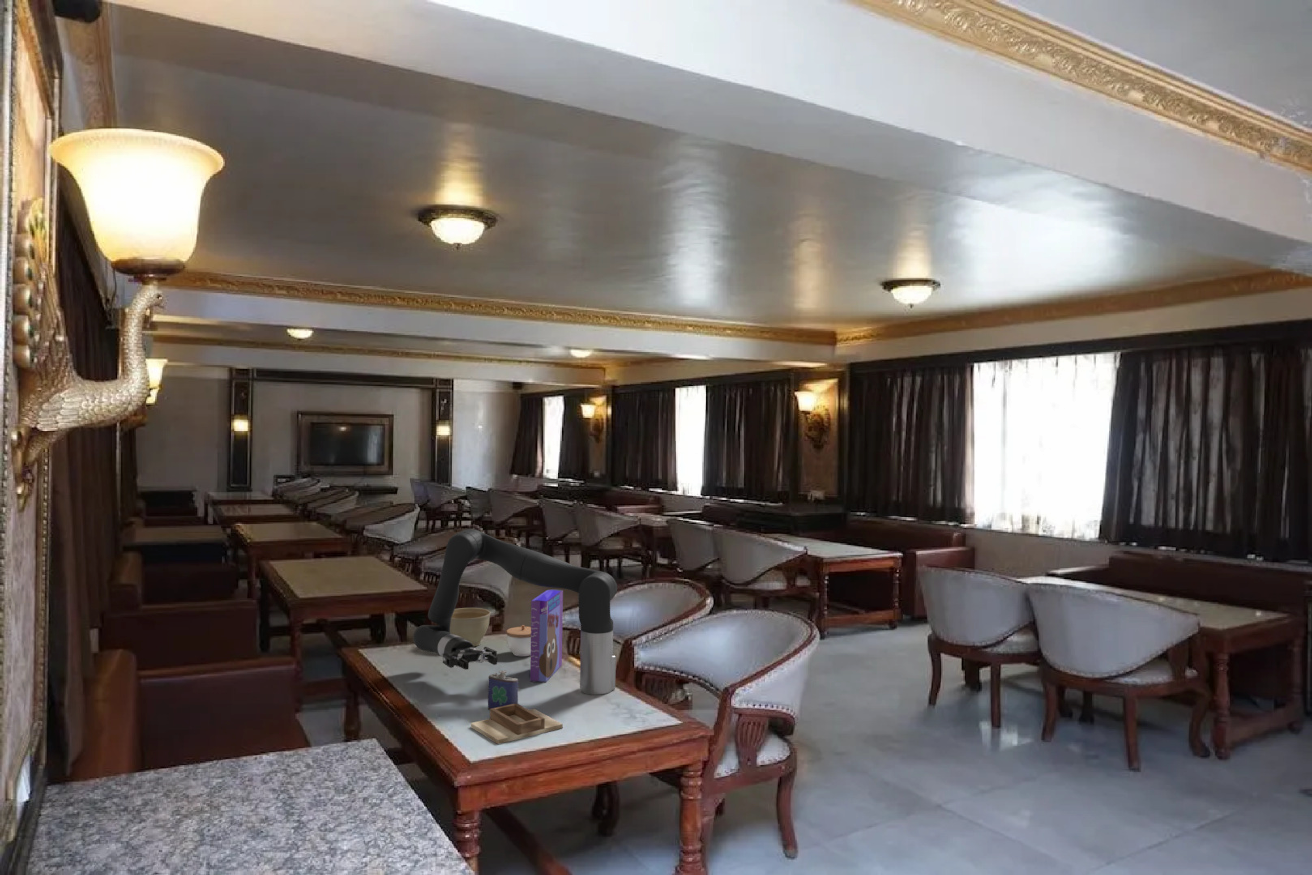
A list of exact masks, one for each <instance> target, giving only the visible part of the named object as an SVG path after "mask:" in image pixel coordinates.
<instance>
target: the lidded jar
mask: <svg viewBox="0 0 1312 875" xmlns="http://www.w3.org/2000/svg"><path fill="white" fill-rule="evenodd" d="M506 644H507V647H508V649H509V651H510V652H511V653H513V655H514V656H515V657H530V656H531V626H525V624H522V625H521V626H515V627H511V628H508V629H507V630H506Z"/></svg>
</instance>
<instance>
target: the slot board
mask: <svg viewBox="0 0 1312 875" xmlns="http://www.w3.org/2000/svg"><path fill="white" fill-rule="evenodd" d="M470 728H471V729H473V730H475V731H477V732H478V733H479V734H481V735H483V736H484V737H486V738H487V739H489V740H491V741H493V742H494V743H496V744H497V745H500V744H503V743H509V742H512V741H517V740H520V739H524V738H528V737H532V736H536V735H541V734H544V733H545V734H546V733H548V732H553V731H557V730H560V729H563V723H562V722H560V721H557V720H556V719H554V718H552V717H550V716H548V715H546V714H545V713H543V712H541V711H539V710H537V709H535V708H531V709H528V708H526V707H524V706H522V705H520V704H519V703H518V704H517V703H515V704H510V705H506V706H501V707H497V708H492V709H490V710H489V718H487V719H484V720H479V721H478V720H477V721H474V722H470Z"/></svg>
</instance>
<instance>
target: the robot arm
mask: <svg viewBox="0 0 1312 875" xmlns="http://www.w3.org/2000/svg"><path fill="white" fill-rule="evenodd" d="M445 547H446V548H445V551H444V552H445V553H444V558H443V564H442V569H441V573H440V576H439V577H440V578H439V581H438V584H437V588H436V590H435V592H434V593H435V594H434V596H433V598H432V602H431V604H430V606H429V608H428V609H429V610H428V614H427V618H428V619H429V620H430V621H431V622H432V623H434V625H433V624H423V625H420V626H418V627H417V628H416V629H415V630H414V632H413V635H412V636H413V637H412V639H413V643H414V645H415V646H416V647H417V648H418V649H419V650H421V651H425V652H428V653H433V654H436V655H437V656H440V657H441V658H442V664H444V665H445V666H447V667H448V668H450V669H451V668H454V667H456V668H461V669H464V670H469V663H472V664H474V663H480V664H482V663H484V662H488V663H490V664H492V665H493V666H496V665H497V664H498V657H497V652H498V651H497V650H495V649H492V648H491V647H488V646H484V647H483V649H481V648H476V647H474V646H473V645H472V643H471V642H470V641H468V640H466V639H464V638H462V637H460V636H457V635H453V634H451V633H450V624H451V618H452V615H453V612H454V610H455V609H456V606H457V605H458V604H457V603H458V600H459V597H460V596H459V595H460V582H461V579H462V576H463V574H464V571H465V570H466V568H467V566H468V565H469V563H471V562H473V561H474V560H482V561H485V562H489V563H493V564H495V565H497V566H499V567H500V568H502V569H504V571H505V572H506V573H507V574H509V575H510V576H512V577H513V578H514V579H516V580H519V581H522V582H525V583H528V584H531V585H535V586H538V587H544V588H552V589H562V590H563V589H565V590H567V591H568V590H569V591H573V592H575V593H577V594H578V620H579V624H580V652H579V653H580V654H579V655H580V656H579V657H580V658H579V659H580V662H579V663H580V664H579V666H580V667H579V668H580V669H579V675H580V676H579V690H580V692H581V693H584V694H587V695H605V694H608V693H610V692H612V691H614V690H616V663H617V662H616V656H615V655H613V654H614V620H613V619H612V617H611V601H612V600H613V599H614V597H615V596H616V595H617V592H618V584H617V581H616V580H615V578H614V577H613V576H612V575H610V574H609V573H608V572H605V571H601V570H595V569H592V568H588V567H587V568H586V567H581V566H578V565H574V564H571V563H568V562H566V561H564V560H561V559H559V558H555V557H554V556H550V555H548V554H545V553H542V552H540V551H539V552H538V551H536V550H532V549H529V548H527V547H526V548H525V547H522V546H519V545H516V544H514V543H513V544H512V543H511V542H506V541H503V540H500V539H497V538H496V537H493V536H491V535H488V534H487V533H485V532H482V531H480V530H478V529H475V528H465V529H463V530H461V531H459V532H457V533H455V534H454V535H452V536H451V537H450V538H449V539H448V541H447V544H446V546H445ZM435 624H436V625H435Z"/></svg>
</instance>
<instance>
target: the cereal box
mask: <svg viewBox="0 0 1312 875" xmlns="http://www.w3.org/2000/svg"><path fill="white" fill-rule="evenodd" d="M563 599H564V590H563V589H559V588H552V589H550V588H549V589H547V590H545V591H543V592H542V593H540V594H539V595H538V596H536V597H535V598H533V599H532V600H531V602H530V603H531V605H530V607H531V608H530V612H531V613H530V627H531V655H530V672H529V675H530V676H529V677H530V678H529V681H530V683H531V682H532V683H533V682H534V683H547V682H548V681H549V680H550V679H551V678H552V677H553V676H554V675H555V673H557V671H558V670H560V668H562V666H563V616H564V614H563V606H564V600H563Z"/></svg>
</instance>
